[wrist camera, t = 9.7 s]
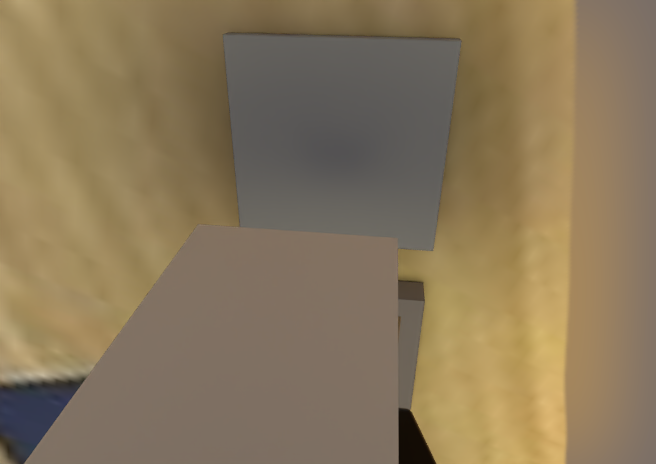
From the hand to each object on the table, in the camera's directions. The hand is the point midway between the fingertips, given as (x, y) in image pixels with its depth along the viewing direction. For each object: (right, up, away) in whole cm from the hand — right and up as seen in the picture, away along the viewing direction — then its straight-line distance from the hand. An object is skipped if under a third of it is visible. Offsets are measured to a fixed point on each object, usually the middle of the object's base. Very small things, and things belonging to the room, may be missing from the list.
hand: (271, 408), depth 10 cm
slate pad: (+2, +7, +11) cm, 14 cm away
